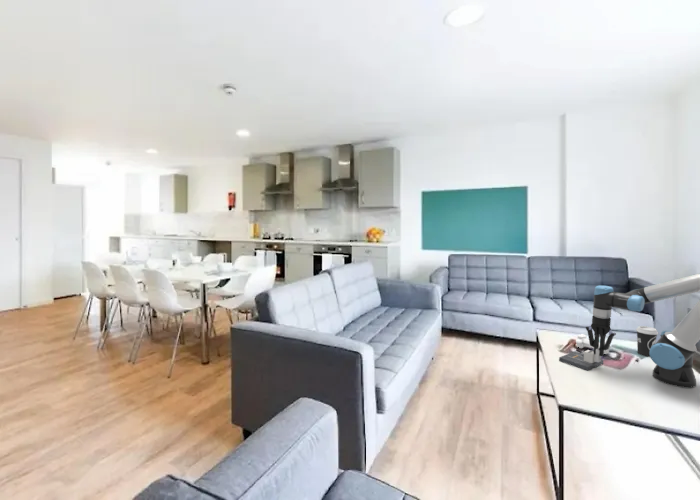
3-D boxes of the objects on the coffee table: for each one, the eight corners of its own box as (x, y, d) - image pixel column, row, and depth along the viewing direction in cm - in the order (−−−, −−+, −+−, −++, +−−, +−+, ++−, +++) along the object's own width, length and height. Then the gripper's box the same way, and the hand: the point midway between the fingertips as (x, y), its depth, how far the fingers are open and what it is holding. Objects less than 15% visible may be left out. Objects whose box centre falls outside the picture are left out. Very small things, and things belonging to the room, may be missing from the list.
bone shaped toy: (610, 354, 197) (611, 340, 197) (604, 356, 192) (605, 342, 192) (580, 346, 209) (582, 332, 209) (574, 348, 204) (575, 334, 204)
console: (603, 363, 183) (603, 357, 183) (587, 370, 175) (588, 364, 175) (574, 354, 195) (575, 348, 195) (559, 360, 187) (559, 354, 187)
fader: (595, 361, 181) (596, 351, 180) (592, 363, 179) (592, 353, 178) (587, 358, 184) (588, 349, 184) (583, 360, 182) (584, 350, 182)
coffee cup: (647, 351, 200) (650, 325, 198) (660, 357, 190) (663, 331, 189) (630, 350, 201) (632, 325, 199) (642, 357, 191) (644, 330, 190)
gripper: (620, 318, 172) (616, 364, 175) (591, 312, 183) (587, 355, 186) (612, 321, 168) (608, 367, 171) (583, 314, 179) (580, 358, 182)
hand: (597, 361), depth 178 cm, fingers closed
